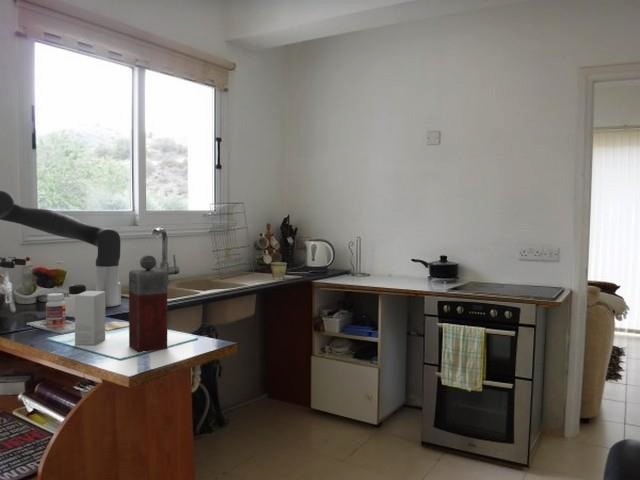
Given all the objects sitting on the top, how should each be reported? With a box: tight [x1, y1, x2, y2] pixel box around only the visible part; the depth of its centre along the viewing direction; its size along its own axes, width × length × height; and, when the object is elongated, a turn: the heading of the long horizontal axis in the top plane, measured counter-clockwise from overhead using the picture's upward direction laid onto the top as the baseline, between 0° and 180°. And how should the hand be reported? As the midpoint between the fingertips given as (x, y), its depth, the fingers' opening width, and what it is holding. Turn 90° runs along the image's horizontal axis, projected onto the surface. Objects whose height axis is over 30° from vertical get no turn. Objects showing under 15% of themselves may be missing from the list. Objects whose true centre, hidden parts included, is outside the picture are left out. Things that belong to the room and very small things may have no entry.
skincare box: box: [74, 290, 106, 346], centre depth 162 cm, size 8×7×16 cm
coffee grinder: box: [128, 254, 168, 353], centre depth 158 cm, size 9×11×28 cm
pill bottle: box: [45, 292, 67, 327], centre depth 184 cm, size 6×6×11 cm
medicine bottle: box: [63, 284, 87, 319], centre depth 202 cm, size 7×7×12 cm
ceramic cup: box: [270, 261, 288, 280], centre depth 323 cm, size 13×10×10 cm
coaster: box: [105, 320, 129, 332], centre depth 185 cm, size 10×10×1 cm
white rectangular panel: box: [26, 319, 75, 335], centre depth 183 cm, size 11×22×1 cm, turn 57°
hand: (20, 263), depth 182 cm, fingers open, 8 cm apart
